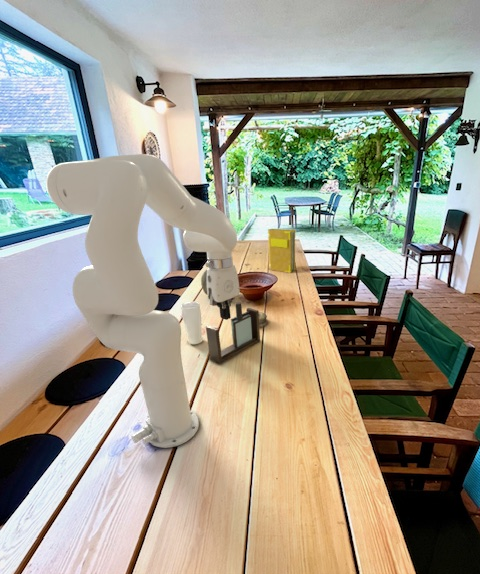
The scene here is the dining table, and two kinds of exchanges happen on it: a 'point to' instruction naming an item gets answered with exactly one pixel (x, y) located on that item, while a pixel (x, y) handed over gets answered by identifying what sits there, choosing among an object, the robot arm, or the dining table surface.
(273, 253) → the book
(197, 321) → the drinking glass
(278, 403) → the dining table surface
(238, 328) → the sliding pane
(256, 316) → the window frame
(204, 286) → the cantaloupe
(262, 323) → the cake
